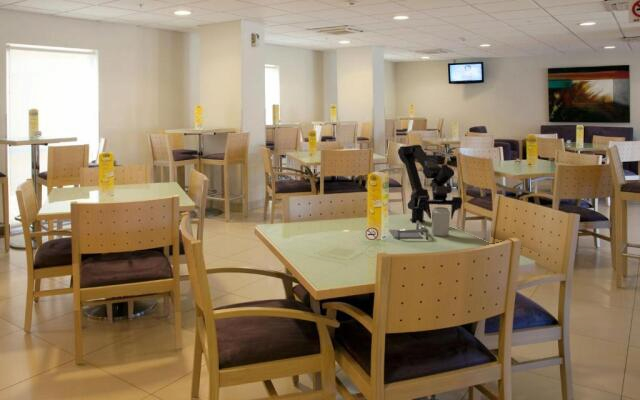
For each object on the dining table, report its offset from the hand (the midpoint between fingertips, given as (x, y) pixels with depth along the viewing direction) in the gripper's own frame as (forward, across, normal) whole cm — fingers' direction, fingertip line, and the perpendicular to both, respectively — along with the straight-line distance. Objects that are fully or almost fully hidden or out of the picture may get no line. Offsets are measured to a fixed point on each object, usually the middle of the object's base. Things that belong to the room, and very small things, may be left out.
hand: (441, 218), depth 240 cm
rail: (+4, -14, +6) cm, 16 cm away
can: (+5, 0, +6) cm, 8 cm away
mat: (+5, -15, +5) cm, 17 cm away
